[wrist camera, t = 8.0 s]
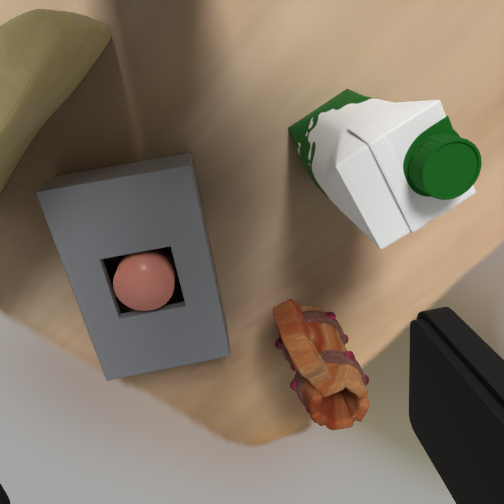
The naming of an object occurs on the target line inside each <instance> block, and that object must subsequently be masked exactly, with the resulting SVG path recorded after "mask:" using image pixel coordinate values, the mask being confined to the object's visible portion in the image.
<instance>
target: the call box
mask: <svg viewBox="0 0 504 504" xmlns="http://www.w3.org/2000/svg"><path fill="white" fill-rule="evenodd" d="M36 195H37V197H38V200H39V203H40V205H41V208H42V211H43V213H44V216H45V219H46V221H47V224H48V227H49V229H50V232H51V234H52V237H53V240H54V242H55V245H56V248H57V250H58V253H59V256H60V258H61V261H62V263H63V266H64V269H65V271H66V274H67V277H68V279H69V282H70V285H71V287H72V290H73V293H74V295H75V298H76V300H77V303H78V306H79V308H80V311H81V314H82V316H83V319H84V322H85V324H86V327H87V330H88V332H89V335H90V337H91V340H92V343H93V345H94V348H95V351H96V353H97V356H98V359H99V361H100V364H101V367H102V369H103V372H104V374H105V377H106V380H112V379H118V378H123V377H128V376H133V375H138V374H143V373H148V372H153V371H158V370H163V369H168V368H173V367H178V366H183V365H188V364H193V363H198V362H203V361H208V360H213V359H218V358H223V357H228V356H230V347H229V339H228V331H227V324H226V319H225V314H224V310H223V305H222V300H221V295H220V290H219V286H218V281H217V276H216V271H215V266H214V262H213V257H212V252H211V247H210V242H209V238H208V233H207V228H206V223H205V219H204V214H203V209H202V204H201V199H200V195H199V190H198V185H197V180H196V175H195V171H194V166H193V161H192V156H191V152H189V153H183V154H178V155H172V156H166V157H160V158H155V159H149V160H143V161H137V162H132V163H126V164H120V165H115V166H109V167H103V168H97V169H92V170H86V171H80V172H74V173H69V174H63V175H57V176H55V177H53V178H52V179H51V180H50V181H49V182H47V183H46V184H45V185H44V186H43V187H41V188H40V189H39V190H38V191H37V192H36ZM169 246H171V249H172V253H173V257H174V261H175V265H176V269H177V273H178V277H179V281H180V285H181V289H182V293H183V297H184V301H185V302H180V303H174V304H169V305H164V306H161V307H159V308H157V309H154V310H149V311H141V310H138V311H133V312H127V313H122V314H121V312H120V309H119V306H118V303H117V300H116V297H115V294H114V291H113V288H112V285H111V282H110V279H109V276H108V273H107V270H106V267H105V264H104V261H103V259H104V258H110V257H115V256H121V255H126V254H132V253H137V252H142V251H148V250H153V249H159V248H164V247H169Z"/></svg>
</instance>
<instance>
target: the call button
mask: <svg viewBox="0 0 504 504" xmlns="http://www.w3.org/2000/svg"><path fill="white" fill-rule="evenodd" d="M174 284H175V266H174V263H173V261H172V259H171V258H170V257H169V256H168V255H167V254H166V253H165V252H164V251H162V250H160V249H153V250H148V251H142V252H137V253H132V254H126V255H124V256H123V257H122V258H121V260H120V262H119V265H118V268H117V270H116V273H115V276H114V279H113V288H114V291H115V294H116V296H117V297H118V299H119V300H120V301H121V302H122V303H123V304H125V305H126V306H128V307H130V308H132V309H135V310H141V311H149V310H154V309H157V308H159V307H161V306H163V305H164V304H165V303H167V302H168V300H169V299H170V298H171V296H172V294H173V291H174Z"/></svg>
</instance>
